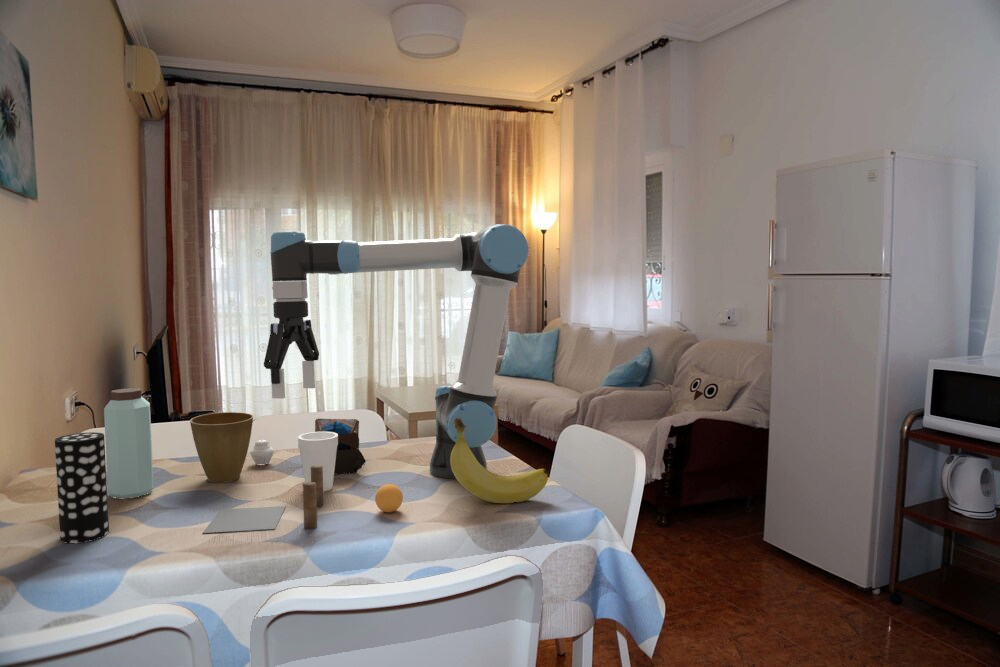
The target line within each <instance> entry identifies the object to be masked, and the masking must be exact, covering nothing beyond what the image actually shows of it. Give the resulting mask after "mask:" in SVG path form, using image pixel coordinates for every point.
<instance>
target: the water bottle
mask: <svg viewBox="0 0 1000 667" xmlns="http://www.w3.org/2000/svg"><path fill="white" fill-rule="evenodd" d="M142 392H143V389H142V388H137V387H132V388H129V387H128V388H119V389H114V390H111V392H110V400H109V402H108V403H107V404H106V405H105V407H104V408H103V418H104V419H103V420H104V440H105V460H106V480H107V495H109V496H110V497H111V498H112V497H116V498H130V497H138V496H141V495H144V494H147V493H149V494H150V493H151V491H152V490H153V487H154V468H153V465H154V464H153V448H152V447H153V446H152V445H153V444H152V421H151V419H152V418H151V403H150V402H149V401H148V400H146V398H144V397H143V396H142V394H143V393H142ZM147 495H148V494H147ZM144 496H145V495H144ZM141 497H142V496H141ZM116 498H115V499H116ZM138 498H139V497H138ZM130 499H131V498H130Z"/></svg>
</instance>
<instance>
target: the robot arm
mask: <svg viewBox="0 0 1000 667" xmlns="http://www.w3.org/2000/svg"><path fill="white" fill-rule="evenodd" d="M528 257H529V242H528V240H527V238H526V236H525V235H524V233H523V232H522V231H521V230H520V229H518V228H517V227H515V226H514V225H511V224H506V223H505V224H503V223H497V224H493V225H490V226H488V227H486V228H483V229H480V230H477V231H474V232H469V233H456V234H455V235H454V237H450V238H435V239H434V238H432V239H431V238H429V239H408V240H387V241H386V240H385V241H382V240H381V241H365V242H364V241H361V242H358V241H356V240H346V239H341V240H340V239H339V240H336V239H335V240H307V239H306V236H305V233H304V231H292V230H291V231H289V230H288V231H287V230H286V231H285V230H283V231H275V232H273V233H272V234H271V236H270V264H271V278H272V280H271V281H272V287H271V289H272V298H273V300H275V301H274V302H273V304H272V305H273V308H272V309H273V317H274V318H275V319H278V322H276V323H275V322H274V323H273V322H272V323H270V328H269V329H270V330H269V331H270V333H269V339H268V343H267V348H266V352H265V357H264V359H263V360H264V361H263V367H265V369H266V370H270V382H271V398H272V399H286V388H285V387H286V386H285V385H286V384H285V369H284V368H282V366H283V364H284V361H285V358H286V356H287V352H288V349H289V348H290V345H292V344H293V343H294V342H295V344H296V346H297V348H298V350H299V352H300V355H301V356H302V357H303V360H302V361H301V364H302V384H303V385H302V386H303V389H315V388H316V378H315V377H316V376H315V373H316V372H315V361H319V356H320V352H319V348H318V344H317V342H316V338H315V335H314V332H313V328H312V320H311V319H304V318H307V317H308V316H309V302H308V301H307V300H306V299H308V296H309V295H308V279H307V275H308V274H314V275H315V274H328V275H340V274H343V275H346V274H356V273H375V272H376V273H378V272H392V271H393V272H395V271H412V270H417V271H419V270H432V269H433V270H434V269H452V268H453V269H455V270H457V271H458V272H470V277H471V278H472V280H473V281H474V283H475V284H474V285H475V286H474V292H473V296H472V302H471V307H470V313H469V318H468V322H467V328H466V333H465V334H466V335H465V340H464V346H463V350H462V356H461V362H460V366H459V367H460V368H459V373H458V379H457V380H456V381H455V382H453V383H452V384H451V385H441V386H438V387H437V388H436V389H435V396H434V400H435V445H434V448H433V453H432V456H431V458H430V461H429V472H430V474H431V475H433V476H435V477H438V478H444V479H456V477H455V476H454V474H453V472H452V469H451V463H450V457H451V452H452V450H453V448H454V446H455V444H456V442H457V438H458V432H457V430H456V429H455V424H454V419H455V418H461V419H462V422H463V424H465V425H466V428H465V429H464V438H465V441H466V444H467V445H468V447H469V448H470V450H471V452H472V453H473V455H474V456H475V458H476V459H477V461H478V462H479V463H480V464H481V465H482V466H483V467H484V468H485V469H487V470H488V468H487V467H488V466H487V459H486V457H485V454H484V453H485V452H484V450H483V447H482V445H484V444H486V443H488V442H489V441H490V440H491V438H492V437H493V436H494V434H495V432H496V429H497V424H498V423H497V415H496V412H495V407H496V403H497V397H498V393H497V392H496V390H495V389H494V387H493V385H494V379H495V374H496V368H497V364H498V359H499V358H498V357H499V352H500V347H501V342H502V334H503V330H504V326H505V325H504V324H505V320H506V319H505V318H506V315H507V308H508V305H509V298H510V292H511V291H512V289H514V288H515V287H516V286H518V283H519V278H520V272H521V269H522V268H523V267H524V265H525V264H526V262H527V259H528Z"/></svg>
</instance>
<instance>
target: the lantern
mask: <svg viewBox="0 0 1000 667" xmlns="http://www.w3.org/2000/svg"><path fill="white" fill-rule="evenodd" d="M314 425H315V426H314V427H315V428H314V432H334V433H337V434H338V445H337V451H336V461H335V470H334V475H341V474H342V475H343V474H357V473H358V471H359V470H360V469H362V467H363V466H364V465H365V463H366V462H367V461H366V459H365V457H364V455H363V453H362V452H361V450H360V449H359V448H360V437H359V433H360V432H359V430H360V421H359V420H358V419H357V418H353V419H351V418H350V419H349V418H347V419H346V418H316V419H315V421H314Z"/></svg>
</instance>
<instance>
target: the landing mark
mask: <svg viewBox="0 0 1000 667" xmlns="http://www.w3.org/2000/svg"><path fill="white" fill-rule="evenodd" d="M286 507H287V506H286V505H282V506H279V505H277V506H262V507H261V506H259V507H246V508H244V507H243V508H227V509H225V508H224V509H219V511H218V512H217V513H216V514H215V516H214V517H213V518H212V520H211V521H210V523H209V524H208V525H207V526H206V527H205V529H204V530H203V531H202V534H203V533H210V534H218V533H217V532H226V533H238V532H239V531H241V533H242V531H243V532H255V531H257V532H258V531H274V530H276V528H277V526H278V524H279V522H280V520H281V518H282V517H283V516H282V515H283V514H284V512H285V510H286ZM236 531H238V532H236ZM215 532H216V533H215ZM239 533H240V532H239ZM203 535H204V534H203Z"/></svg>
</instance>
